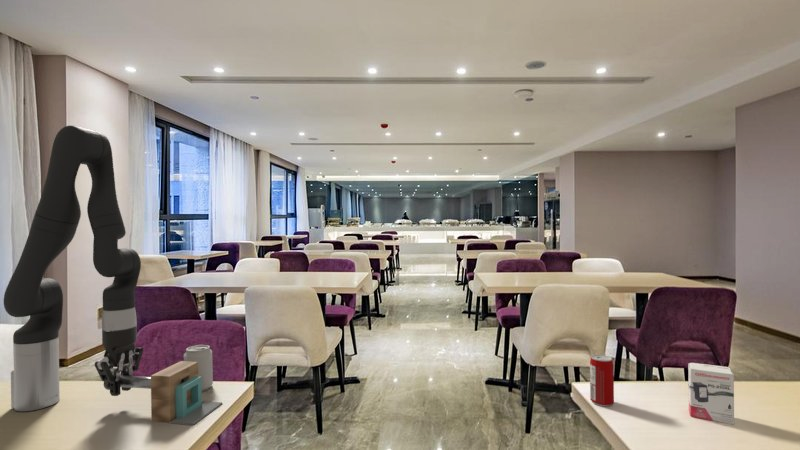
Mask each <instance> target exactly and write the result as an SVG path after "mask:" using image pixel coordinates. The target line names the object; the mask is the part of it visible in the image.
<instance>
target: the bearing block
mask: <svg viewBox="0 0 800 450" xmlns="http://www.w3.org/2000/svg"><path fill="white" fill-rule="evenodd" d="M194 376H198V362H190V361H184V360H179V361H178V362H177V363H174V364H172V365H170V366H168V367H165V368H163V369H162V370H159V371H157V372H155V373H154V374H151V375H150V377H151V389H150V404H151V405H150V408H151V409H150V410H151V411H150V413H151V415H150V416H151V420H150V421H151V422H156V423H157V422H158V423H171V421H173V420H174V419H176V418H177V417H176V408H175V387H176V386H178V385H180V380H181V379H183V380H184V382H185V381H187V380H189V379H191V378H192V377H194ZM186 393H187V404H188V403H190V402H191V389H189V390H187V391H186Z"/></svg>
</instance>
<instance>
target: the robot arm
mask: <svg viewBox="0 0 800 450" xmlns="http://www.w3.org/2000/svg"><path fill="white" fill-rule="evenodd" d="M81 165H85V166H86V167H87V169H88V171H89V174H90V177H91V190H90V195H89V196H88V202H87V217H88V221H89V225H90V228H91V231H92V235H93V244H92V246H93V250H92V261H93V265H94V268H95V270H96V272H97V273H98V274H99V275H100V276H102V277H103V278H113V281H112V283H111V284H110V285H108V286H107V287H105V288H103V291H102V315H101V338H102V339H101V340H102V341H101V342H102V343H101V344H102V347H103V348H104V349H105V351H104V353H103V358H101V360H100V361H95V362H94V367H95V369H96V371H97V374H98V375H99V378H100V379H101V382H104V381H109V383H110V390H109V394H110V395H111V396H112V397H118V396H120V395H121V391H123V392H124V391H127V392H128V391H130V390H131V389H132V388H128V387H120V381H119V380H120V375H122V376H133V374H134V372H135V371H136V372H137V371H138V369H139V368H140V367H139V366H140V363H141V359H142V356H143V352H144V347H136V345H135V344H136V343H137V340H138V336H137V335H138V332H137V331H138V328H137V323H138V322H137V321H138V320H137V312H136V296H135V295H136V292H135V291H136V287H137V285H138V280H139V276H140V272H141V268H142V267H141V266H142V263H141V258H140V255H139V253H138V252H137V251H136V250H135V249H132V248H128V247H125V248H124V247H123V248H119V246H118V245H119V244H118V242H119V241H118V240H121V239H123V238H124V237H125V236H126V235H127V234H126V233H127V232H126V227H125V224H124V220H123V217H122V213H121V209H120V207H119V201H118V195H117V189H116V180H115V171H114V159H113V150H112V145H111V143H110V140H109V138H108V137H107V136H106V135H105V134H103V132H99V131H97V130H92V129H88V128H85V127H81V126H76V125H66V126H63V127H62V128H60V129H59V131H57V133H56V135H55V137H54V140H53V143H52V147H51V151H50V158H49V164H48V168H47V174H46V178H45V182H44V185H43V188H42V191H41V196H40V199H39V202H38V204H37V207H36V210H35V213H34V216H33V219H32V222H31V226H30V228H29V233H28V236H27V238H26V241H25V244H24V247H23V249H22V252H21V256H20V258H19V261H18V262H17V265H16V266H15V269H14V271H13V273H12V275H11V277H10V280H9V281H8V284H7V286H6V288H5V290H4V294H3V306H4V310H5V312H6V313H7V314H8V315H9V316H11V317H13V318H25V317H29V318H28V320H27V322H25V324H24V325H22V326H21V327H19V328H18V329H16V330H15V331H14V333H13V337H12V341H13V342H12V343H13V345H12V346H13V350H12V352H13V370H12V371H11V372H10V403H11V404H10V405H11V406H10V407H11V409H14V410H15V411H16V412H32V411H37V410H41V409H44V408H48V407H51V406H53V405H54V404H57V403H58V402H60V350H59V349H60V347H59V346H60V344H59V335H60V334H59V333H60V329H61V327H62V323H63V311H64V310H63V309H64V308H63V307H64V293H63V292H64V291H63V288H62V286H61V285H60V283H59V282H58V281H57V280H56V279H54V278H51V277H44V276H45V273H46V271H47V270H48V268H49V267H50V265H51V264H52V263H53V262H54V261H55V259H56V258H57V257H59V255H60V254H62V253H63V251H64V250H65V249H67V247H68V246H69V245H70V243H72V241H73V239H74V237H75V235H76V231H77V229H78V226H79V223H80V220H81V216H82V211H81V206H80V202H79V197H78V196H77V191H76V180H77V175H78V173H79V168H80V167H81ZM114 372H115V376H113V374H114Z"/></svg>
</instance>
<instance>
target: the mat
mask: <svg viewBox="0 0 800 450" xmlns="http://www.w3.org/2000/svg"><path fill="white" fill-rule="evenodd" d="M222 405H223V402H221V401H218V402H217V401H205V400H202V405H201V406H200V407H198V408H197V409H195V410H194V411H192V412H191V413H190V414H188V415H187V416H185V417H184V418H176V419H174V420H173V421H171V422H170V424H173V425H174V424H175V425H187V426H194V425H196V424H197V423H198V422H200V421H201V420H202V419H204V418H205V417H208V415H209V414H211V413H212V412H213V411H215V410H217V409H218V408H219V407H221V406H222Z"/></svg>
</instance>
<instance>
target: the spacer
mask: <svg viewBox="0 0 800 450" xmlns="http://www.w3.org/2000/svg"><path fill="white" fill-rule="evenodd" d="M189 389H191V402H190V403H188V404H187V393H186V391H187V390H189ZM202 392H203V391H202V384H201V377H198V376H194V377H192V378H191V379H189V380H187V381H185V382H183V383H182V384H180V385H178V386H176V387H175V408H176V417H177V418H184V417H185V416H187V415H188V414H190V413H191V412H192V411H194V410H195V409H197V408H198V407H200V406H201V405H202V401H203V400H202V398H203V397H202V394H203V393H202Z"/></svg>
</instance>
